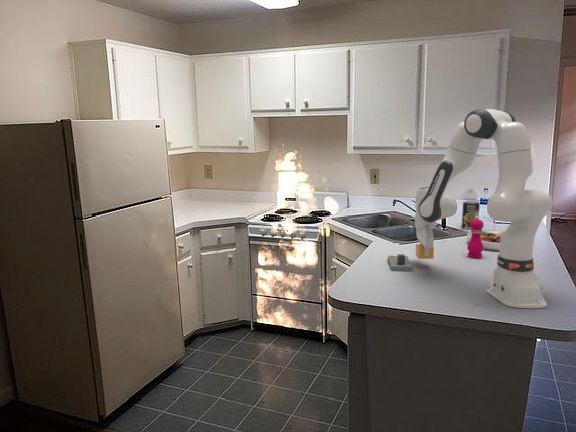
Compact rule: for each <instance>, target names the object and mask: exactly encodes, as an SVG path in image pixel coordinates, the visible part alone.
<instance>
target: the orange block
mask: <svg viewBox="0 0 576 432" xmlns="http://www.w3.org/2000/svg"><path fill="white" fill-rule="evenodd" d="M434 248H435V247H434V246H433V248H430V250H429V256H425V255H424V249H425V248H424V246H423V245H422V244H420V243H419V244H417V243H416V244H415V257H416V258H417V259H419V260H422V259H423V260H431V259H434V253H435V252H434V251H435V249H434Z"/></svg>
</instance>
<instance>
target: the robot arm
mask: <svg viewBox="0 0 576 432" xmlns="http://www.w3.org/2000/svg"><path fill="white" fill-rule="evenodd" d="M529 137H530V136H529V134H528V130H527V128H526V125H524V124H523V123H522V122H519V121H517V120H516V118H515V116H514V115H513V114H512V113H511V112H508V111H506V110H498V109H496V108H495V109H493V108H487V109H486V108H479V109H474V110H471V112H468V114H467V115H466V116H465V119H464V121H462V122H460V123H459V124H458V125H457V127H456V128H455V130H454V133H453V135H452V137H451V139H450V141H449V144H448V148H447V150H446V153H445V155H444V157H443V159H442V161H441V162H440V163H439V165H438V168H436V171H435V174H434V176H433V177H432V180H431V182H430V185H429V186H426V187H421V188H419V189H417V191H416V193H415V201H414V202H415V203H414V204H415V205H414V207H415V215H414V227H415V229H416V230H415V233H416V239H417V240H419V241H418V242H419V244H422V245H423V246H424V248H425V249H424V255H425V256H429V250H430V248H433V247H434V244H435V243H434V231H433V229H435V228H436V222H437V221H439V220H444V219H447V218H450V217H453V216H454V215H456V213H457V210H458V204H457V201H456V200H455V198H454V197H453V196H451V195H447V194H445V192H446V190H447V188H448V185H449V183H450V182H451V180H452V179H454V178H455V177H456V176H457V175H459V174H461V173H462V172H465V171H466V170H467V169H469V168H470V167H471V166H472V164H473V162H474V160H475V158H476V155H477V152H478V149H479V147H480V144H481V142H482V141H483V140H493V141H494V143H495V146H496V150H497V151H496V152H497V164H498V165H497V166H498V180H497V184H496V187H495V190H494V192H493V194H492V195H491V196H490V198H489V199H488V201H487V203H486V211H487V214H488V216H489V218H491V219H492V220H493V221H496V222H503V223H509V225H508V227H506V229H505V230H503V231H504V232H503V233H502V235H501V237H500V250H499V251H498V253H499V254H498V255H497V259H496V262H497V263H496V265H497V266H496V267H495V269H494V270H492V274H491V281H490V282H491V283H490V288H487V289H486V291H485V292H486V293H487V294H489V295H490V296H491V297H493V298H494V299H496V300H497V301H499V302H500V303H501V304H503V305H504V306H507V307H510V308H517V309H544V308H547V307H548V303H547V302H546V300H545V298H544V297H543V295H542V293H541V291H543V290H544V283H540V282H539V277H537V275H536V273H535V270H534V269H535V267H534V265H535V264H534V263H535V262H534V258H533V253H534V251H533V250H534V243H535V237H536V234H537V232H538V229H539V227H540V224H541V223H542V221H543V219H544V218H545V217H546V216H547V215H548V214H549V213H550V211H551V210H552V207H553V201H552V197H551V196H550V194H548V192H546V191H543V190H539V189H525V187H526V182H527V180H528V179H529V177H530V176H531V175H532V174H533V172H534V166H533V158H532V149H531V141H530V138H529Z"/></svg>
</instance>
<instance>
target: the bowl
mask: <svg viewBox="0 0 576 432" xmlns="http://www.w3.org/2000/svg"><path fill="white" fill-rule="evenodd" d="M504 231H505V230H496V229H482V233H481V241H482V244H483V250H487V251H496V252H499V250H500V237H501V235H502V233H503V232H504ZM471 237H472V232H471V231H470V232H468V233H467V240H468V243H469V242H470V240H471Z"/></svg>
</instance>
